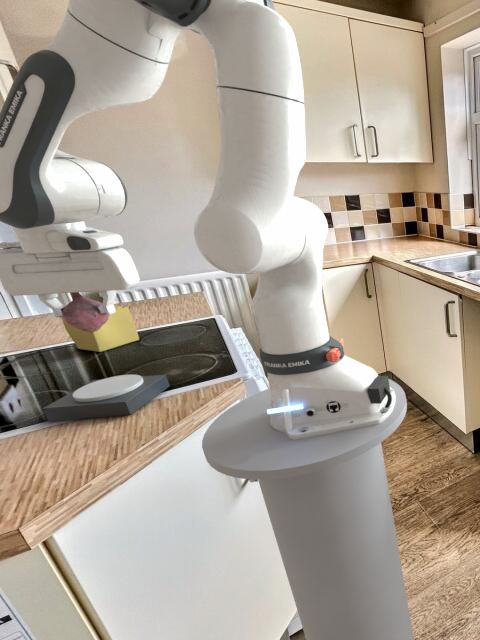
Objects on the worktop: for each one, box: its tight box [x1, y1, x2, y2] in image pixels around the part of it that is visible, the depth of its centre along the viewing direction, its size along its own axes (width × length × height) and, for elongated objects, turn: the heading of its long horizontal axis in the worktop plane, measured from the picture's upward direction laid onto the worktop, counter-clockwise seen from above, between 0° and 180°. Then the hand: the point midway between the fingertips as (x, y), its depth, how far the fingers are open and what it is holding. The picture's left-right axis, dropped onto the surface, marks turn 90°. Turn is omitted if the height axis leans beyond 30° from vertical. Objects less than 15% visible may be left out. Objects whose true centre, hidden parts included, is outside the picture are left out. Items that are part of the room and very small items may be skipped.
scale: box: [42, 374, 171, 423], centre depth 84 cm, size 14×12×4 cm
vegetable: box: [62, 292, 109, 333], centre depth 78 cm, size 6×6×10 cm
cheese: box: [61, 305, 140, 353], centre depth 115 cm, size 10×11×10 cm
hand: (86, 315), depth 79 cm, fingers closed on vegetable, 6 cm apart
